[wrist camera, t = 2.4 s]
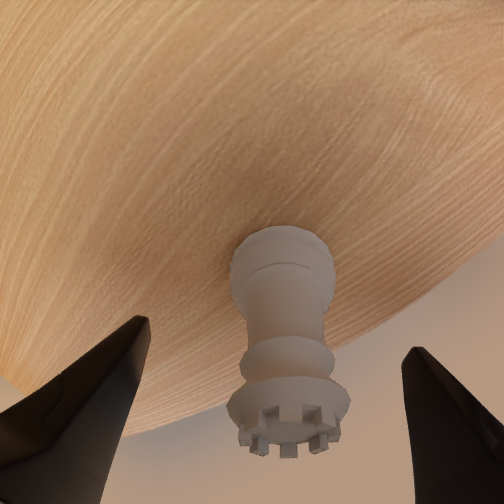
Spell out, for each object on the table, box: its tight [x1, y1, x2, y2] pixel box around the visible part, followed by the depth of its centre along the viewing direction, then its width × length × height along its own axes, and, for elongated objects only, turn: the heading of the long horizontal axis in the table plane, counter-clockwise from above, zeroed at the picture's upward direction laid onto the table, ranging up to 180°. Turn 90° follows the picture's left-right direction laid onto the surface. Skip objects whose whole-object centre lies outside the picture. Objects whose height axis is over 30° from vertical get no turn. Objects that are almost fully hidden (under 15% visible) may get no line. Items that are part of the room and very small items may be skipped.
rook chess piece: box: [226, 225, 351, 458], centre depth 10 cm, size 4×4×8 cm
